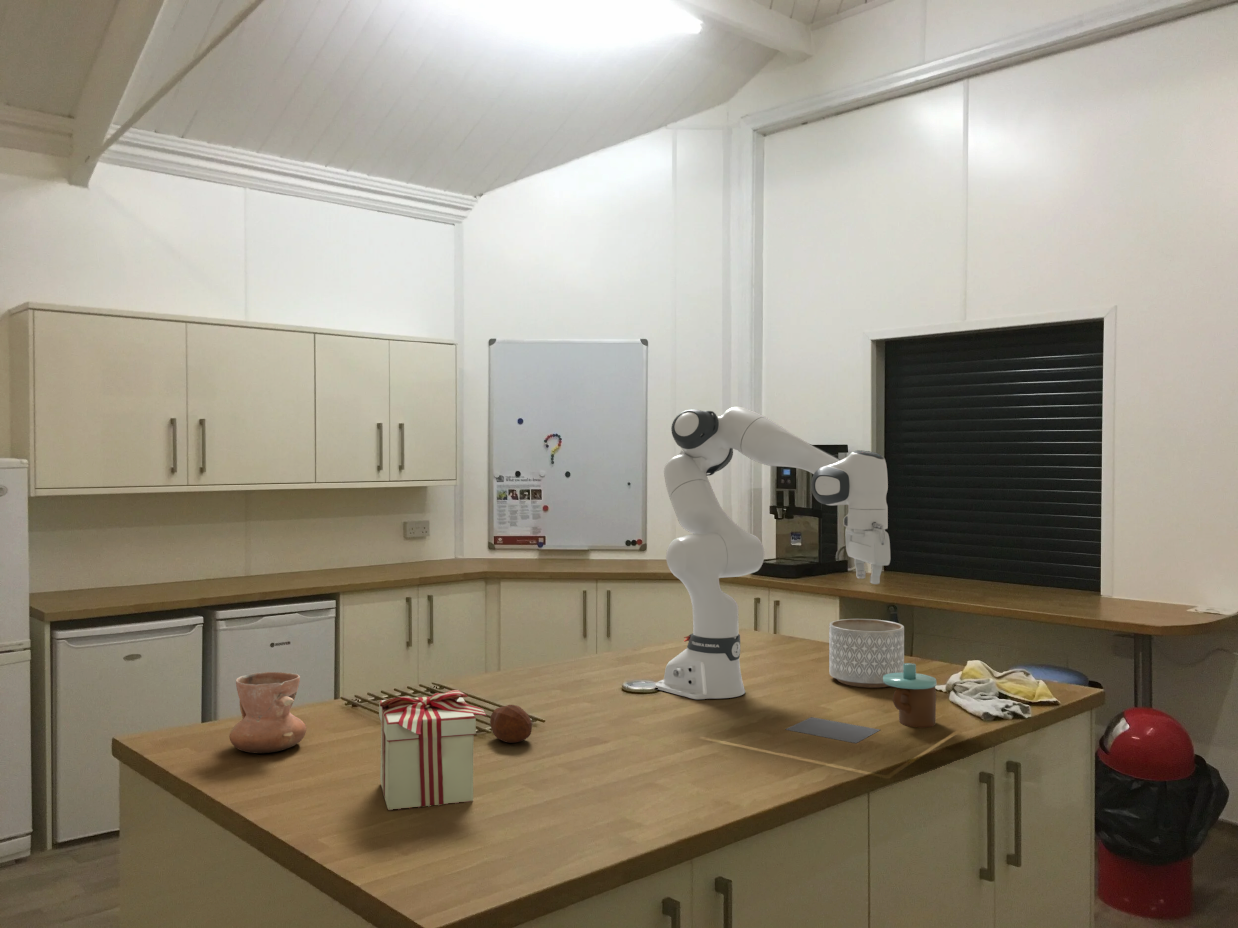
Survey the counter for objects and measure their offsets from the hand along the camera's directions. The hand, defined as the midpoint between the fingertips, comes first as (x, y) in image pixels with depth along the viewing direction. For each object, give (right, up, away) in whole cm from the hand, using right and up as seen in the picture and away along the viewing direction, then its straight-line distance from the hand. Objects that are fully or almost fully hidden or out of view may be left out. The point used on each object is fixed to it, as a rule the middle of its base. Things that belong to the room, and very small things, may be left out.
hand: (867, 580), depth 229 cm
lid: (+5, -20, -16) cm, 26 cm away
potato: (-79, -30, -26) cm, 89 cm away
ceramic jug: (-128, -30, -30) cm, 135 cm away
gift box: (-90, -30, -57) cm, 111 cm away
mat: (-12, -29, -20) cm, 38 cm away
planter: (+6, -29, +26) cm, 39 cm away
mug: (+5, -30, -16) cm, 34 cm away
